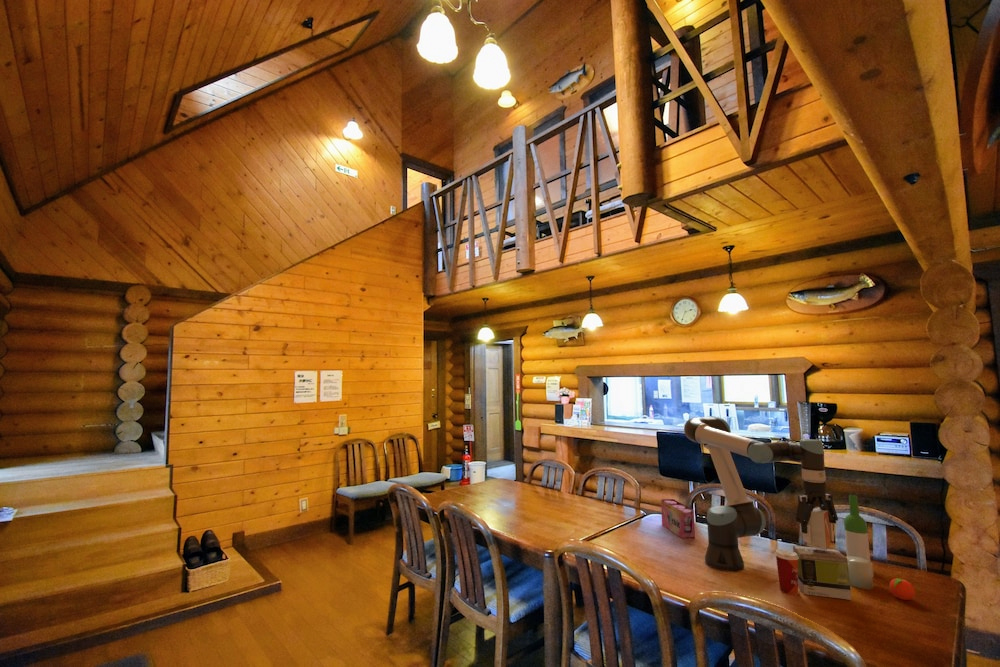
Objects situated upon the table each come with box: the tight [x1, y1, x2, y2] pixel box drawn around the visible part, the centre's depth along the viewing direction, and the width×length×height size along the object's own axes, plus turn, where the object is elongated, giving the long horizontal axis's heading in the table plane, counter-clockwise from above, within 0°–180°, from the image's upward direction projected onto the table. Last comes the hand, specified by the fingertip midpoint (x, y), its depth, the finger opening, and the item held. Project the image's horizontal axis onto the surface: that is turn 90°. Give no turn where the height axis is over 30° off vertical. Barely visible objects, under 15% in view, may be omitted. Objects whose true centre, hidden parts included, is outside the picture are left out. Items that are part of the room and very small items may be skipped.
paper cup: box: [774, 549, 799, 596], centre depth 168 cm, size 8×8×14 cm
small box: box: [805, 507, 832, 550], centre depth 170 cm, size 8×6×13 cm
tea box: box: [792, 545, 853, 601], centre depth 168 cm, size 15×10×15 cm
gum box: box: [660, 498, 696, 539], centre depth 238 cm, size 24×8×14 cm, turn 4°
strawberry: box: [889, 577, 916, 601], centre depth 162 cm, size 8×7×7 cm
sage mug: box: [845, 555, 874, 590], centre depth 174 cm, size 10×8×9 cm
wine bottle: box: [843, 494, 871, 562], centre depth 190 cm, size 8×8×30 cm
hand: (818, 541), depth 169 cm, fingers closed on small box, 10 cm apart
